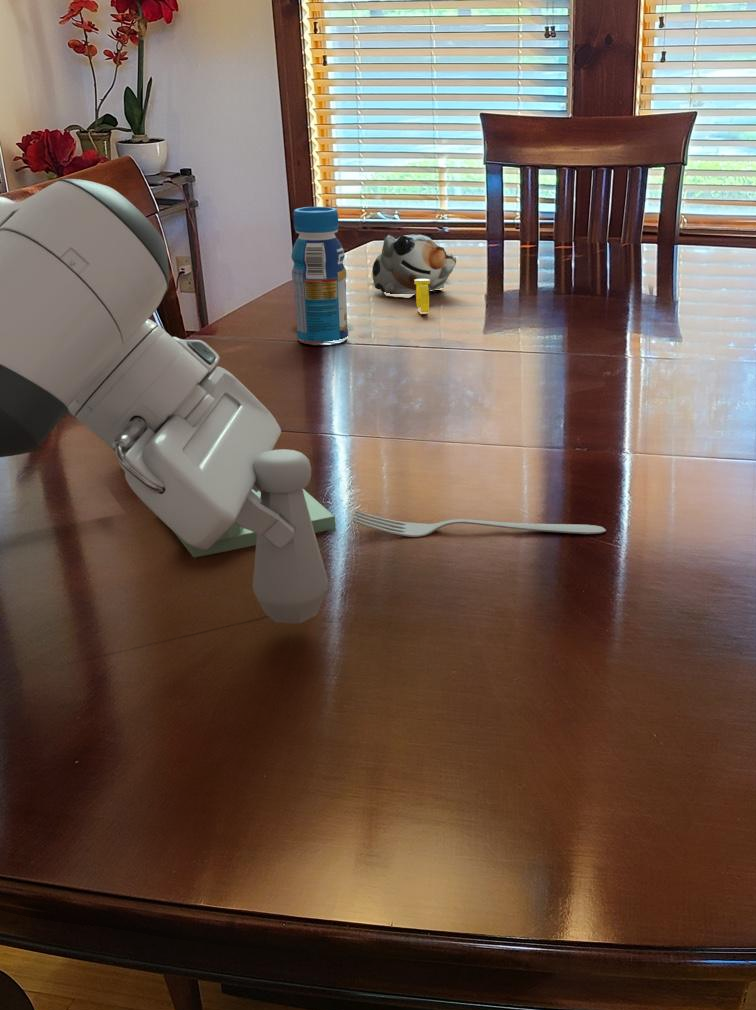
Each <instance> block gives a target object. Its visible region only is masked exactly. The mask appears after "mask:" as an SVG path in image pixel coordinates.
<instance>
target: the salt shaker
mask: <svg viewBox="0 0 756 1010" xmlns="http://www.w3.org/2000/svg"><path fill="white" fill-rule="evenodd" d="M252 464H253V467H254V471H255V474H256V476H257V480H256V482H255V486H256V487H257V488H258V489H260V490H261V497H260V499H261V500H262V501H261V504H262V505H264V506H265V507H267V508H269V509H270V510H272V511H273V512H275V513H277V514H278V515H280V513H281V514H282V515H283V516H284V517H285V518H286V519H288V520H289V521H290V522H291V523H292V524H293V525H295V526H296V532H295V535H294V537H293V539H292V540H291V541H290V542H289V543H288V544H287V545H286V546H285V547H283V548H278V547H276V546H275V545H274V544H272V543H271V542H270V541H269V540H268V539H267V538H265V537H264V536H263V535H260V534H257V541H256V545H255V554H254V563H253V565H254V566H253V573H252V584H251V585H252V586H251V588H252V591H253V594H254V596H255V598H256V600H257V601H258V604H259V605H260V607H261V609H262V611H263V612H264V614H265V615H266V616H267V617H269V618H270V619H271V620H272V621H273V622H275V623H276V624H301V623H303V622H306V621H308V620H310V619H311V618H314V617H315V616H318V614H319V611H320V609H321V606H322V604H323V601H324V599H325V596H326V594H327V591H328V584H329V579H328V575H327V571H326V567H325V565H324V564H325V563H324V561H323V556H322V554H321V549H320V547H319V542H318V539H317V536H316V533H315V532H314V528H313V525H312V521H311V518H310V514H309V510H308V507H307V503H306V500H305V496H304V492H303V489H305V488H306V487H308V486H309V484H310V481H311V478H312V466H311V462H310V460H309V458H308V457H307V456H306V455H305V454H304V453H302V452H300V451H297V450H295V449H287V448H286V449H285V448H283V449H282V448H281V449H272V451H267V452H264V453H262V454H260V455H258V456H257V457H256V459H255V460H254V462H253V463H252Z"/></svg>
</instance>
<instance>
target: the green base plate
mask: <svg viewBox="0 0 756 1010" xmlns="http://www.w3.org/2000/svg"><path fill="white" fill-rule="evenodd" d="M251 491H252V492H253V493H254V494H256V495H257V496H258V497H259V498H260V497H261V493H260V491H258V492H255V491H254V490H253V489H252V490H251ZM303 492H304V496H305V500H306V503H307V507H308V510H309V514H310V518H311V521H312V525H313V528H314V532H315V534H317V533H322V532H327V531H332V530H336V516H335V515H334V514H333V513H332V512H331V511H329V510H328V509H327V508H326V507H325V506H324V505H322V504H321V502H319V501H318V500H317V499H315V498H314V497H313V496H312V494H310V493H309V492H308V491H306V490H305V488H303ZM173 533H174V535H175V536H176V537H177V539H178V540H179V541H180V543H182V545H183V546H184V547H185V548H186V550H187V551H188V553H189V554H190V555H191V556H192V557H193V558H198V557H204V556H210V555H213V554H219V553H223V552H228V551H233V550H238V549H244V548H249V547H253V546H256V541H257V533H255V532H252V531H250V530H247V529H245V528H242V527H240V526H239V525H238V524H237V523H235V522H234V523H233V525H232V526H231V527H230V528H229V529H228V530H227V531H226V532H225V533H224V534H223V535H222V536H221V537H220V538H219V539H218V540H217V541H216V542H215V543H214V544H213V545H212V546H211V547H210V548H208V549H206V550H202V549H199V548H196V547H193V546H191V545H189V544H187V543H186V542H185V541H183V540H182V539H181V538H180V537H179V536H178V535H177V534H176V533H175V532H173Z"/></svg>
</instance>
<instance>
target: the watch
mask: <svg viewBox="0 0 756 1010" xmlns="http://www.w3.org/2000/svg"><path fill="white" fill-rule="evenodd" d="M414 284H416V295H415V299H416V300H415V303H416V308H417V307H421V312H429V313H430V292H429V290H428V284H430V279H415V280H414Z"/></svg>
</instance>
